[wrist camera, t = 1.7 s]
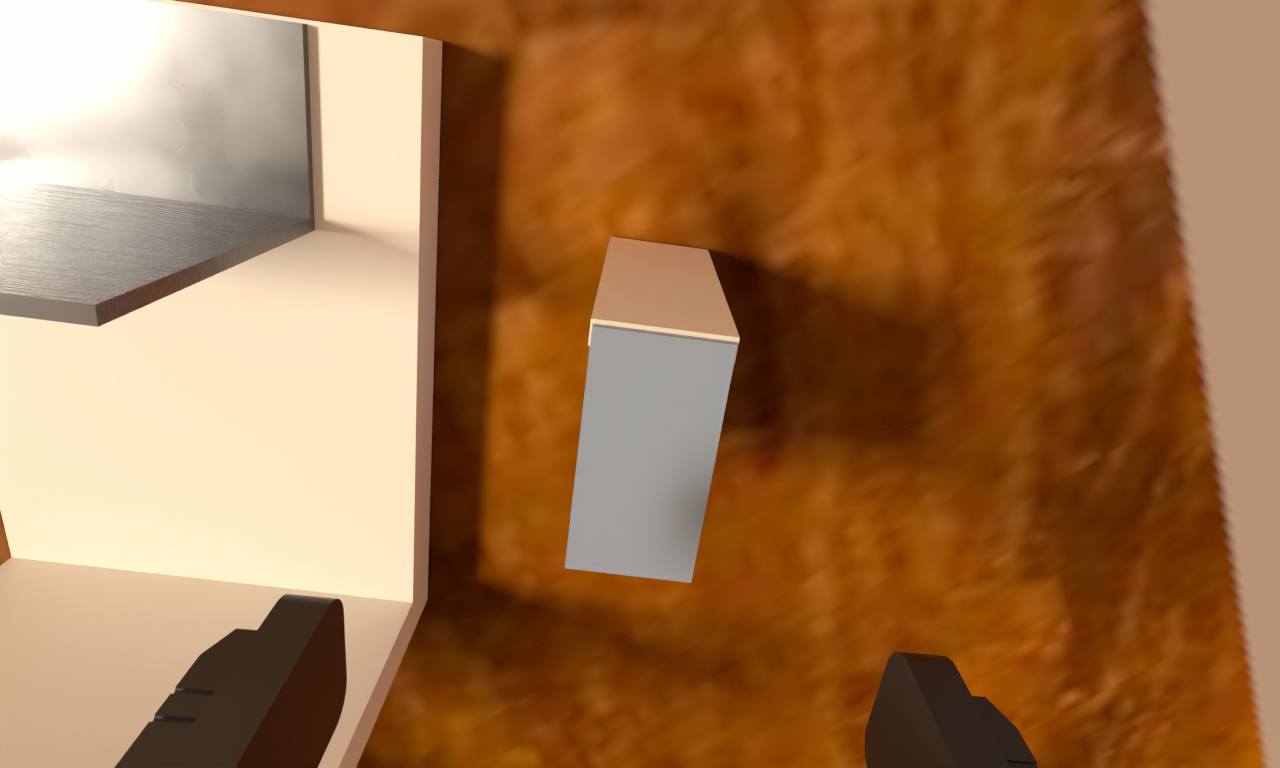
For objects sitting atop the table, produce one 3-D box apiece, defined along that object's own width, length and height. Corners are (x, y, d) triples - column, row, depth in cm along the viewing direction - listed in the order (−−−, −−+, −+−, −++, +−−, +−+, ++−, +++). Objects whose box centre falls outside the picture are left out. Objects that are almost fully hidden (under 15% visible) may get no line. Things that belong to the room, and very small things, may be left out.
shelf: (442, 40, 21) (-47, -59, 6) (427, 599, 29) (191, 1154, 14) (-61, -33, 20) (-1930, -335, 6) (61, 558, 28) (-596, 1091, 13)
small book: (707, 248, 23) (741, 340, 15) (678, 419, 26) (693, 583, 17) (610, 235, 23) (590, 321, 15) (590, 408, 25) (562, 567, 17)
